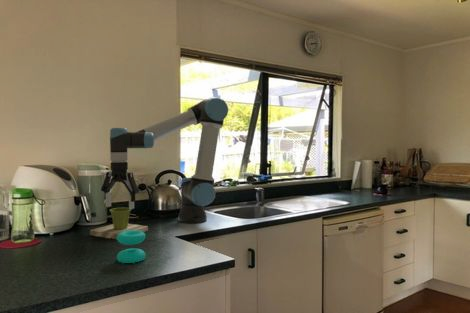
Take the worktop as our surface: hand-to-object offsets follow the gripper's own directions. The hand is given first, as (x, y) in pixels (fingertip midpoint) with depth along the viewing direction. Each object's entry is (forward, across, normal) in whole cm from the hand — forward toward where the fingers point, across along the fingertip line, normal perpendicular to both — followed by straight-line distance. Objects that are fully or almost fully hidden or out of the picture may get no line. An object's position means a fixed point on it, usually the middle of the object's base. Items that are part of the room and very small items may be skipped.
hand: (119, 207), depth 175 cm
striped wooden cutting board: (+12, 0, 0) cm, 13 cm away
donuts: (+12, -31, +29) cm, 44 cm away
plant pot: (+10, 0, 0) cm, 10 cm away
